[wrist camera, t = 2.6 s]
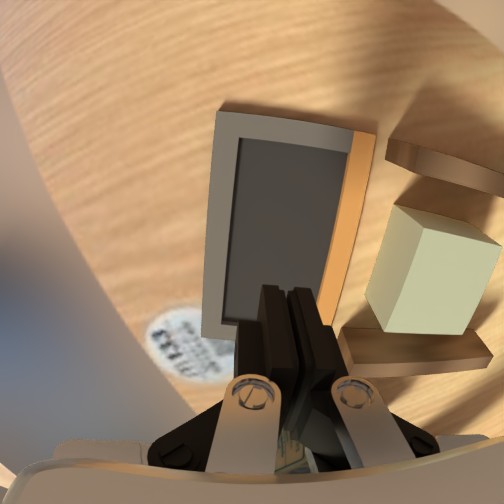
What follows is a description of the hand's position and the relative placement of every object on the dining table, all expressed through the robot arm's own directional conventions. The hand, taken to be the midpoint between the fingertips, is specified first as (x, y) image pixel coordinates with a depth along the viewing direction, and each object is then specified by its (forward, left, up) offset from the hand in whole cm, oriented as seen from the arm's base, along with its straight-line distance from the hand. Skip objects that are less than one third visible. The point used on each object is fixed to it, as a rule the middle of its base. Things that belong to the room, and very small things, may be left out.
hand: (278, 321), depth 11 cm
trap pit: (-1, 0, -7) cm, 7 cm away
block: (-10, 0, -8) cm, 12 cm away
